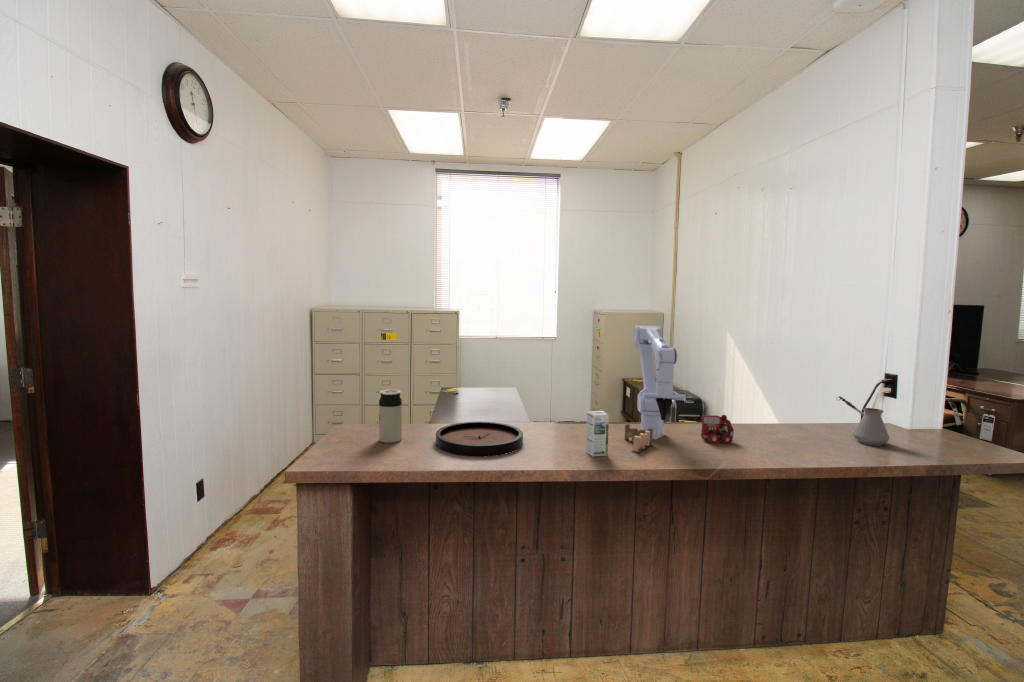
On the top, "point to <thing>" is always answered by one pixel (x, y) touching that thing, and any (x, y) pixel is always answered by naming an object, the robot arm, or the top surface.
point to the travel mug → (390, 416)
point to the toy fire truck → (716, 429)
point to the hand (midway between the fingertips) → (663, 419)
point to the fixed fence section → (635, 433)
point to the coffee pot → (870, 426)
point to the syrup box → (597, 433)
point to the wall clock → (479, 439)
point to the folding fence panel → (641, 441)
